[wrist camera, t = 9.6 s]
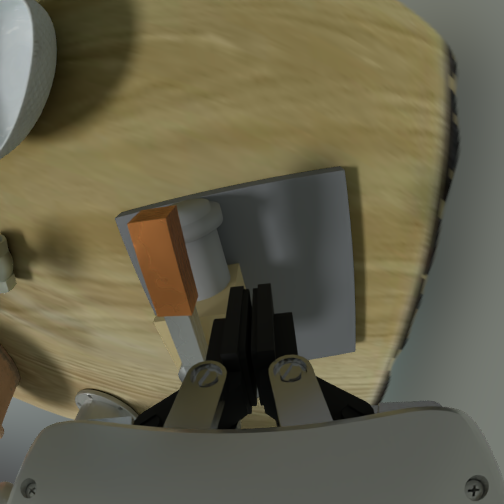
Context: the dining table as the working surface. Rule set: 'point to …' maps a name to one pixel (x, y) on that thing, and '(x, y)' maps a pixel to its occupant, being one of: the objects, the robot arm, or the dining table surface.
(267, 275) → the valve board
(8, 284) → the valve
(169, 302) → the valve lever
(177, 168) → the dining table surface
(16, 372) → the pottery
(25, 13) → the cereal bowl
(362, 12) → the dining table surface
